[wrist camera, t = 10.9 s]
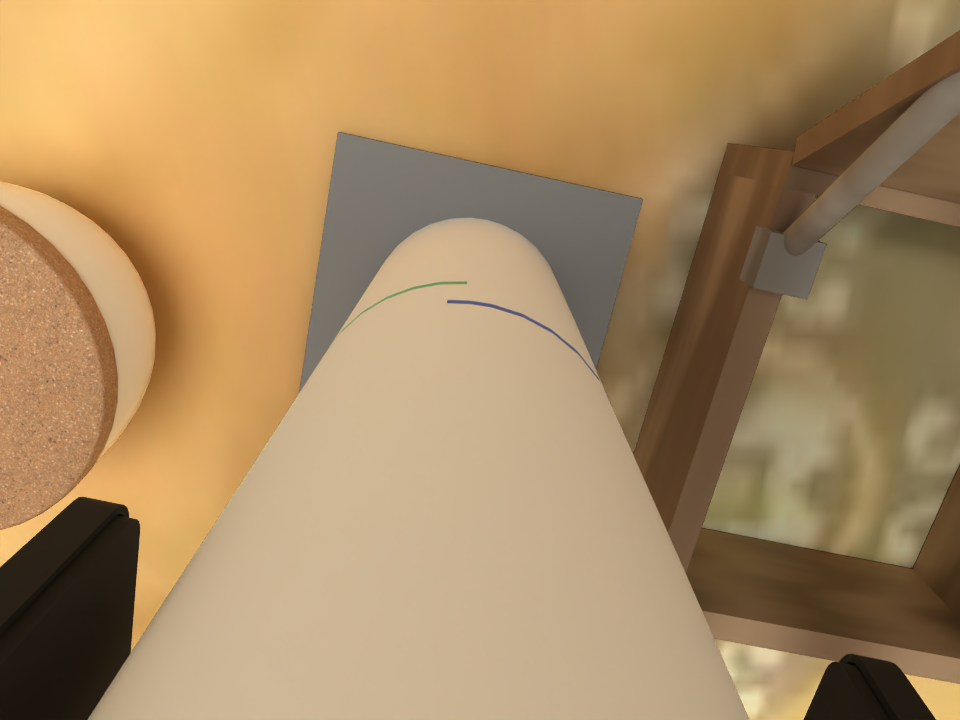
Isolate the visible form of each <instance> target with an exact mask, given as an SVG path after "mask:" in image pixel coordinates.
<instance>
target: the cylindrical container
mask: <svg viewBox="0 0 960 720" xmlns="http://www.w3.org/2000/svg"><path fill="white" fill-rule="evenodd" d="M88 720H749V717H748V715H747V713H746V711H745V708H744V706H743V704H742V701H741V699H740V697H739V694H738V692H737V690H736V688H735V685H734V683H733V681H732V678H731V676H730V674H729V672H728V669H727V667H726V665H725V662H724V660H723V658H722V656H721V653H720V651H719V649H718V646H717V644H716V642H715V639H714V637H713V635H712V633H711V630H710V628H709V626H708V623H707V621H706V619H705V617H704V614H703V612H702V610H701V607H700V605H699V603H698V601H697V598H696V596H695V594H694V591H693V589H692V587H691V584H690V582H689V580H688V578H687V575H686V573H685V571H684V568H683V566H682V564H681V562H680V559H679V557H678V555H677V553H676V550H675V548H674V546H673V544H672V541H671V539H670V537H669V535H668V532H667V530H666V528H665V525H664V523H663V521H662V519H661V516H660V514H659V512H658V510H657V507H656V505H655V503H654V501H653V498H652V496H651V494H650V492H649V489H648V487H647V485H646V483H645V480H644V478H643V476H642V474H641V471H640V469H639V467H638V465H637V462H636V460H635V458H634V455H633V453H632V451H631V449H630V446H629V444H628V442H627V440H626V437H625V435H624V433H623V431H622V428H621V426H620V424H619V422H618V419H617V417H616V415H615V413H614V410H613V408H612V406H611V403H610V401H609V399H608V396H607V394H606V392H605V390H604V387H603V385H602V383H601V380H600V378H599V376H598V373H597V371H596V369H595V366H594V364H593V362H592V360H591V357H590V355H589V353H588V350H587V348H586V346H585V343H584V341H583V339H582V336H581V334H580V332H579V330H578V327H577V325H576V323H575V320H574V318H573V316H572V314H571V311H570V309H569V307H568V305H567V302H566V300H565V298H564V296H563V293H562V291H561V289H560V287H559V284H558V282H557V280H556V278H555V276H554V274H553V272H552V269H551V267H550V265H549V263H548V262H547V261H546V259H545V258H544V257H543V255H542V254H541V253H540V251H539V250H538V249H537V248H536V247H535V246H534V245H533V244H532V243H531V242H529V241H528V240H527V239H526V238H525V237H524V236H522V235H521V234H519V233H517V232H516V231H514V230H512V229H510V228H508V227H507V226H505V225H502V224H499V223H496V222H493V221H490V220H485V219H477V218H453V219H447V220H443V221H440V222H436V223H432V224H430V225H428V226H426V227H424V228H422V229H420V230H418V231H416V232H414V233H412V234H411V235H410V236H409V237H407V238H406V239H405V240H404V241H402V242H401V243H400V244H399V245H398V246H397V247H396V248H395V249H394V250H393V252H392V253H391V254H390V255H389V257H388V258H387V259H386V260H385V262H384V263H383V265H382V266H381V268H380V270H379V271H378V273H377V274H376V276H375V277H374V279H373V280H372V282H371V283H370V285H369V287H368V288H367V290H366V291H365V293H364V294H363V296H362V297H361V299H360V300H359V302H358V304H357V305H356V307H355V308H354V310H353V311H352V313H351V314H350V316H349V317H348V319H347V321H346V322H345V324H344V325H343V327H342V328H341V330H340V331H339V333H338V334H337V336H336V338H335V339H334V341H333V342H332V344H331V345H330V347H329V348H328V350H327V352H326V353H325V355H324V356H323V358H322V359H321V361H320V362H319V364H318V365H317V367H316V368H315V370H314V371H313V373H312V374H311V376H310V377H309V379H308V381H307V382H306V384H305V385H304V387H303V388H302V390H301V391H300V393H299V394H298V396H297V397H296V399H295V401H294V402H293V404H292V405H291V407H290V408H289V410H288V411H287V413H286V414H285V416H284V418H283V419H282V421H281V422H280V424H279V425H278V427H277V428H276V430H275V431H274V433H273V434H272V436H271V438H270V439H269V441H268V442H267V444H266V445H265V447H264V448H263V450H262V451H261V453H260V455H259V456H258V458H257V459H256V461H255V462H254V464H253V465H252V467H251V468H250V470H249V471H248V473H247V475H246V476H245V478H244V479H243V481H242V482H241V484H240V485H239V487H238V488H237V490H236V492H235V493H234V495H233V496H232V498H231V499H230V501H229V502H228V504H227V505H226V507H225V508H224V510H223V512H222V513H221V515H220V516H219V518H218V519H217V521H216V522H215V524H214V525H213V527H212V529H211V530H210V532H209V533H208V535H207V536H206V538H205V539H204V541H203V542H202V544H201V545H200V547H199V549H198V550H197V552H196V553H195V555H194V556H193V558H192V559H191V561H190V562H189V564H188V566H187V567H186V569H185V570H184V572H183V573H182V575H181V576H180V578H179V579H178V581H177V582H176V584H175V586H174V587H173V589H172V590H171V592H170V593H169V595H168V596H167V598H166V599H165V601H164V603H163V604H162V606H161V607H160V609H159V610H158V612H157V613H156V615H155V616H154V618H153V619H152V621H151V623H150V624H149V626H148V627H147V629H146V630H145V632H144V633H143V635H142V636H141V638H140V639H139V641H138V643H137V644H136V646H135V647H134V649H133V650H132V652H131V653H130V655H129V656H128V658H127V660H126V661H125V663H124V664H123V666H122V667H121V669H120V670H119V672H118V673H117V675H116V676H115V678H114V680H113V681H112V683H111V684H110V686H109V687H108V689H107V690H106V692H105V693H104V695H103V697H102V698H101V700H100V701H99V703H98V704H97V706H96V707H95V709H94V710H93V712H92V713H91V715H90V717H89V718H88Z"/></svg>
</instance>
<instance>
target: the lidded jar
mask: <svg viewBox="0 0 960 720" xmlns="http://www.w3.org/2000/svg"><path fill="white" fill-rule="evenodd" d="M155 339H156V330H155V323H154V315H153V310H152V307H151V303H150V300H149V297H148V293H147V291H146V289H145V286H144V284H143V282H142V280H141V278H140V276H139V273H138V272H137V270H136V269H135V267H134V266H133V264H132V263H131V261H130V259H129V258H128V256H127V255H126V254H125V252H124V251H123V250H122V249H121V248H120V247H119V245H118V244H117V243H116V242H115V241H114V240H113V239H112V237H111V236H109V235H108V234H107V233H106V232H105V231H104V230H103V229H101V228H100V227H99V226H98V225H97V224H96V223H95V222H93V221H92V220H90V219H89V218H87V217H86V216H84V215H83V214H81V213H80V212H78V211H77V210H75V209H74V208H72V207H70V206H69V205H67V204H65V203H63V202H61V201H59V200H57V199H54V198H52V197H50V196H48V195H46V194H44V193H41V192H38V191H35V190H32V189H29V188H25V187H22V186H19V185H15V184H10V183H6V182H1V181H0V530H2V529H6V528H9V527H12V526H16V525H19V524H22V523H24V522H26V521H28V520H30V519H32V518H34V517H36V516H38V515H40V514H42V513H44V512H45V511H46V510H48V509H49V508H50V507H52V506H53V505H55V504H56V503H57V502H59V501H60V500H61V499H63V498H64V497H65V496H66V495H67V494H68V493H69V492H70V491H71V490H73V488H74V487H75V486H76V485H77V484H78V483H79V482H80V481H81V480H82V479H83V478H84V477H85V476H86V475H87V474H88V472H89V471H90V470H91V469H92V467H93V466H94V464H95V463H96V462H97V461H98V460H99V459H100V458H101V457H102V456H103V455H104V454H105V452H106V451H107V450H108V449H109V448H110V447H111V446H112V445H113V444H114V443H115V442H116V441H117V439H118V438H119V437H120V435H121V434H122V432H123V431H124V430H125V428H126V427H127V425H128V424H129V422H130V421H131V419H132V418H133V416H134V414H135V413H136V411H137V410H138V408H139V405H140V403H141V401H142V399H143V397H144V394H145V392H146V389H147V387H148V384H149V382H150V379H151V375H152V370H153V365H154V360H155Z"/></svg>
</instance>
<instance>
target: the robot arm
mask: <svg viewBox="0 0 960 720" xmlns="http://www.w3.org/2000/svg"><path fill="white" fill-rule="evenodd" d="M139 537H140V524H139V521H138V520H137V519H132V518H129V512H128V509H127V507H126V506H125V505H121V504H116V503H111V502H106V501H101V500H96V499H91V498H86V497H79V498H77V499H76V500H74V501H73V502H72V503H71V504H70V505H68V506H67V507H66V508H65V509H64V510H63V511H62V512H61V513H60V514H59V515H57V516H56V517H55V518H54V519H53V520H52V521H51V522H50V523H49V524H48V525H46V526H45V527H44V528H43V529H42V530H41V531H40V532H39V533H38V534H36V535H35V536H34V537H33V538H32V539H31V540H30V541H29V542H28V543H27V544H25V545H24V546H23V547H22V548H21V549H20V550H19V551H18V552H17V553H16V554H14V555H13V556H12V557H11V558H10V559H9V560H8V561H7V562H6V563H4V564H3V565H2V566H1V567H0V720H88V718H89V717H90V715H91V713H92V712H93V710H94V709H95V707H96V706H97V704H98V703H99V701H100V700H101V698H102V697H103V695H104V693H105V692H106V690H107V689H108V687H109V686H110V684H111V683H112V681H113V680H114V678H115V676H116V675H117V673H118V672H119V670H120V669H121V667H122V666H123V664H124V663H125V661H126V660H127V658H128V656H129V655H130V652H131V639H132V627H133V614H134V601H135V588H136V575H137V563H138V550H139ZM804 720H936V719H935V718H934V716H933V715H932V713H931V712H930V710H929V709H928V707H927V706H926V705H925V703H924V702H923V700H922V699H921V697H920V696H919V695H918V693H917V692H916V690H915V689H914V687H913V686H912V685H911V683H910V682H909V680H908V679H907V677H906V676H905V675H904V673H903V672H902V670H901V669H900V668H899V667H898V666H897V665H896V664H895V663H892V662H890V661H886V660H881V659H876V658H871V657H866V656H861V655H856V654H846V655H845V656H844V657H842V658H841V660H840V661H839V662H832V663H831V664H830V665H828V667H827V669H826V670H825V673H824V675H823V677H822V679H821V682H820V684H819V686H818V688H817V691H816V693H815V695H814V698H813V700H812V702H811V704H810V707H809V709H808V711H807V713H806V716H805V718H804Z"/></svg>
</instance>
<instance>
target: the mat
mask: <svg viewBox="0 0 960 720" xmlns="http://www.w3.org/2000/svg"><path fill="white" fill-rule="evenodd" d="M642 201H643V199H641V198H636V197H632V196H627V195H623V194H618V193H614V192H609V191H605V190H600V189H596V188H591V187H587V186H582V185H578V184H573V183H568V182H564V181H559V180H555V179H550V178H546V177H541V176H537V175H532V174H528V173H523V172H519V171H514V170H509V169H505V168H500V167H496V166H491V165H487V164H482V163H478V162H473V161H469V160H464V159H460V158H455V157H451V156H446V155H441V154H437V153H432V152H428V151H423V150H419V149H414V148H410V147H405V146H401V145H396V144H392V143H387V142H382V141H378V140H373V139H369V138H364V137H360V136H355V135H351V134H346V133H342V132H338V135H337V142H336V148H335V155H334V162H333V168H332V175H331V182H330V189H329V195H328V202H327V209H326V216H325V222H324V229H323V236H322V242H321V249H320V256H319V263H318V269H317V276H316V283H315V289H314V296H313V303H312V310H311V316H310V323H309V330H308V337H307V343H306V350H305V357H304V363H303V370H302V377H301V384H300V390H299V393H300V391H301V390H302V388H303V387H304V385H305V384H306V382H307V381H308V379H309V377H310V376H311V374H312V373H313V371H314V370H315V368H316V367H317V365H318V364H319V362H320V361H321V359H322V358H323V356H324V355H325V353H326V352H327V350H328V348H329V347H330V345H331V344H332V342H333V341H334V339H335V338H336V336H337V334H338V333H339V331H340V330H341V328H342V327H343V325H344V324H345V322H346V321H347V319H348V317H349V316H350V314H351V313H352V311H353V310H354V308H355V307H356V305H357V304H358V302H359V300H360V299H361V297H362V296H363V294H364V293H365V291H366V290H367V288H368V287H369V285H370V283H371V282H372V280H373V279H374V277H375V276H376V274H377V273H378V271H379V270H380V268H381V266H382V265H383V263H384V262H385V260H386V259H387V258H388V257H389V255H390V254H391V253H392V252H393V250H394V249H395V248H396V247H397V246H398V245H399V244H400V243H401V242H402V241H404V240H405V239H406V238H407V237H409V236H410V235H411V234H412V233H414V232H416V231H418V230H420V229H422V228H424V227H426V226H428V225H430V224H432V223H436V222H440V221H443V220H447V219H453V218H477V219H485V220H490V221H493V222H496V223H499V224H502V225H505V226H507V227H508V228H510V229H512V230H514V231H516V232H517V233H519V234H521V235H522V236H524V237H525V238H526V239H527V240H528V241H529V242H531V243H532V244H533V245H534V246H535V247H536V248H537V249H538V250H539V251H540V253H541V254H542V255H543V257H544V258H545V259H546V261H547V262H548V263H549V265H550V267H551V269H552V272H553V274H554V276H555V278H556V280H557V282H558V284H559V287H560V289H561V291H562V293H563V296H564V298H565V300H566V302H567V305H568V307H569V309H570V311H571V314H572V316H573V318H574V320H575V323H576V325H577V327H578V330H579V332H580V334H581V336H582V339H583V341H584V343H585V346H586V348H587V350H588V353H589V355H590V357H591V360H592V362H593V364H594V366H595V369H596V368H597V365H598V361H599V357H600V354H601V350H602V346H603V343H604V339H605V336H606V332H607V328H608V325H609V321H610V317H611V314H612V310H613V307H614V303H615V299H616V296H617V292H618V288H619V285H620V281H621V278H622V274H623V270H624V267H625V263H626V259H627V256H628V252H629V249H630V245H631V241H632V238H633V234H634V230H635V227H636V223H637V220H638V216H639V212H640V209H641V205H642Z"/></svg>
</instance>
